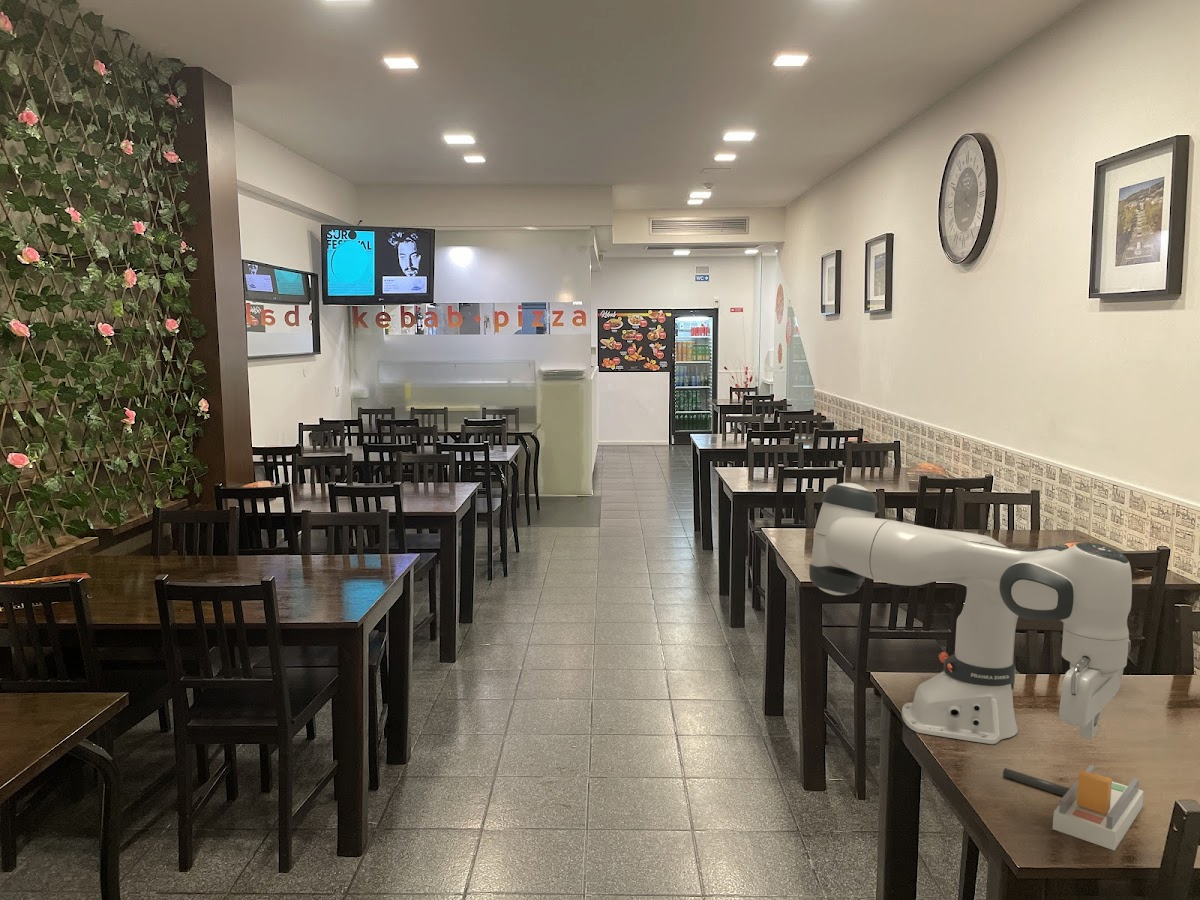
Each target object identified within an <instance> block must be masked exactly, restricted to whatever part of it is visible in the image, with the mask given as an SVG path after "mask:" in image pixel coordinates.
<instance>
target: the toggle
mask: <svg viewBox="0 0 1200 900" xmlns="http://www.w3.org/2000/svg"><path fill="white" fill-rule="evenodd" d="M1077 780H1078V790H1077V805H1080V806H1083V807H1086V808H1090V809H1093V810H1096V811H1099V812H1102V813H1105V814H1107V813H1108V811H1109V810H1110V800H1111V787H1112V782H1113V778H1111V777H1107V776H1103V775H1100V774H1098V773H1097V774H1096V773H1095V772H1094V773H1091V772H1087V771H1085V770H1083V769H1081V771H1080V772H1079V773H1078V777H1077Z"/></svg>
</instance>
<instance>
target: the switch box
mask: <svg viewBox="0 0 1200 900" xmlns="http://www.w3.org/2000/svg"><path fill="white" fill-rule="evenodd" d="M1095 768H1096V766H1094V765H1092V764H1089V765H1088V766H1087V768H1085V770H1084V771H1087V772H1091V773H1094V774H1095V771H1096V770H1095ZM1002 772H1003V773H1002V777H1004V778H1006V779H1009V780H1013V781H1015V782H1019V783H1022V784H1025V785H1028V786H1031V787H1034V788H1038V789H1041V790H1044V791H1047V792H1049V793H1053V794H1056V795H1059V796H1062V798H1061V799H1060V800H1059V804H1058V806H1057V807H1056V808H1055V810H1053V815H1052V816H1053V817H1052V818H1053V819H1052V830H1055V831H1056V832H1059V833H1063V834H1066V835H1068V836H1071V837H1075V838H1077V839H1080V840H1083V841H1086V842H1088V843H1092V844H1094V845H1098V846H1100V847H1102V848H1106V849H1108V850H1111V851H1114V852H1115V851H1116V849H1117V847H1119V845H1120V842H1121V841H1122V840H1123V838H1124V837H1125V835H1126V834H1127V833H1128V831H1129V829H1130V828H1131V826H1132V824H1133V823H1134V822H1135V820H1136V819H1137V816H1138V815H1139V813H1140V812H1141V811H1142V809H1143V806H1144V805H1143V804H1144V803H1143V802H1144V790H1141V789H1139V787H1140V779H1139V778H1137V777H1136V778H1135V777H1133V779H1131V781H1130V783H1129V784H1128V785H1125V784H1121V783H1118V782H1115V781H1112V787H1111V800H1110V810H1109V811H1108V813H1107V814H1105V813H1102V812H1099V811H1096V810H1093V809H1090V808H1086V807H1083V806H1080V805H1077V790H1078V779H1076V781H1075V782H1074V783H1073V784H1072V785H1071V786H1070V788H1069V787H1067V786H1064V785H1060V784H1057V783H1053V782H1050V781H1048V780H1045V779H1041V778H1038V777H1035V776H1032V775H1029V774H1025V773H1023V772H1019V771H1015V770H1012V769H1009V768H1006V767H1004V768H1003V771H1002Z"/></svg>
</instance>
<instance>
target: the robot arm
mask: <svg viewBox="0 0 1200 900" xmlns="http://www.w3.org/2000/svg"><path fill="white" fill-rule="evenodd" d="M821 502H822V504H821V507H820V510H819V513H818V517H817V519H816V524H815V528H814V537H813V545H812V551H811V552H812V553H811V564H809V566H808V567H809V570H808V571H809V572H808V573H809V580H810V582H811V583H812V584H813V585H814V586H815V587H817V588H818V589H819V590H821V591H823V592H824V593H827V594H829V595H833V596H846V595H853V594H855V593H856V592H858V591H859V590H860V588H861V586H862V584H863V582H864V580H865V578H868V579H871V580H875V581H879V582H881V583H886V584H890V585H898V586H911V587H912V586H913V587H914V586H921V585H925V584H929V583H933V582H937V583H938V582H939V583H952V584H953V583H954V584H958V585H962V586H964V587H966V596H965V601H964V603H963V607H962V611H961V612H960V614H959V615H958V616H957V618H956V628H955V629H956V630H955V644H954V649H955V650H954V653H953V654H952V655H949V654H948V652H945V651H941V652H940V653H939V654H938V659H939V661H940V662H941V663H942V664H943V670H942V671H941V672H939V673H938V674H936V675H934V676H932V677H931V678H929V679H927V680H925V681H923V682H921V683H920V684H919V685H917V688H916V690H915V693H914V696H913V701H912V702H906V703H904V705H903V706H902V707H901V719H902V721H903V722H904V723H905V725H906V726H907V727H908V728H909V729H910V730H912V731H914V732H916V733H919V734H925V735H930V736H937V737H943V738H949V739H955V740H956V739H957V740H962V741H969V742H975V743H981V744H982V743H983V744H988V745H995V744H998V743H999V742H1000V741H1001V740H1005V739H1008V738H1012V737H1014V736H1015V735H1017V734H1018V732H1019V730H1018V729H1019V728H1018V726H1017V721H1016V716H1015V708H1014V698H1013V695H1014V694H1013V691H1014V687H1015V684H1016V663H1015V662H1014V652H1015V651H1014V650H1015V637H1016V636H1015V635H1016V628H1017V623H1018V619H1019V618H1023V619H1025V620H1026V619H1027V620H1035V621H1038V620H1039V621H1061V622H1062V623H1063V628H1062V629H1063V630H1062V641H1061V657H1062V658H1063V659H1064V660H1065V661H1067V662H1069V669H1068V670H1067V671H1066V672H1065V674H1064V676H1063V681H1062V685H1061V693H1060V701H1059V710H1058V715H1059V719H1060V721H1061V722H1062V723H1065V724H1067V725H1068V724H1069V725H1071V726H1075V727H1079V730H1078V731H1079V732H1078V733H1079V736H1080V737H1081V738H1085V739H1088V740H1091V739H1092V738H1093V737H1094V736H1095V735H1096V734H1097V732H1098V725H1099V720H1100V717H1101V715H1102V709H1103V708H1104V707H1106V705H1107V704H1108V703H1110V701H1111V700H1112V699H1113V697H1115V695H1116V694H1118V692H1119V690H1120V689H1121V685H1122V681H1123V674H1124V669H1125V668H1126V666H1127V664H1128V654H1129V653H1130V651H1131V645H1132V643H1131V642H1132V641H1131V640H1130V639H1129V638H1130V636H1129V635H1130V631H1129V627H1128V618H1129V617H1128V616H1129V614H1130V612H1131V608H1132V597H1133V578H1132V576H1133V574H1132V567H1131V564H1130V561H1129V560H1128V558H1127V556H1126V555H1124V554H1123V553H1122V552H1120V551H1119V550H1117V549H1115V548H1113V547H1110V546H1108V545H1103V544H1101V543H1091V542H1087V541H1086V542H1078V543H1076V544H1074V545H1073V546H1071V547H1064V546H1059V545H1058V546H1057V545H1051V546H1047V547H1046V546H1045V547H1041V548H1036V549H1019V548H1018V549H1017V548H1011V547H1008V546H1006V545H1005V544H1003V543H1001V542H999V541H998V540H996V539H994V538H992V537H991V536H989V535H984V534H977V533H970V532H966V531H964V532H963V531H958V530H957V531H956V530H948V529H947V530H946V529H938V528H933V527H927V526H922V525H917V524H914V523H907V522H903V521H898V520H894V519H885V518H878V517H877V518H876V517H875V516H876V513H877V514H878V513H879V509H878V501H877V497H876V496H875V493H874V492H872V491H870V490H869V489H867V488H866V487H864V486H862V485H861V484H858V483H854V482H841V483H838V484H837V483H836V484H832V485H829V487H827V488H826V490H825V492H824V494H823V497H822V499H821Z"/></svg>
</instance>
